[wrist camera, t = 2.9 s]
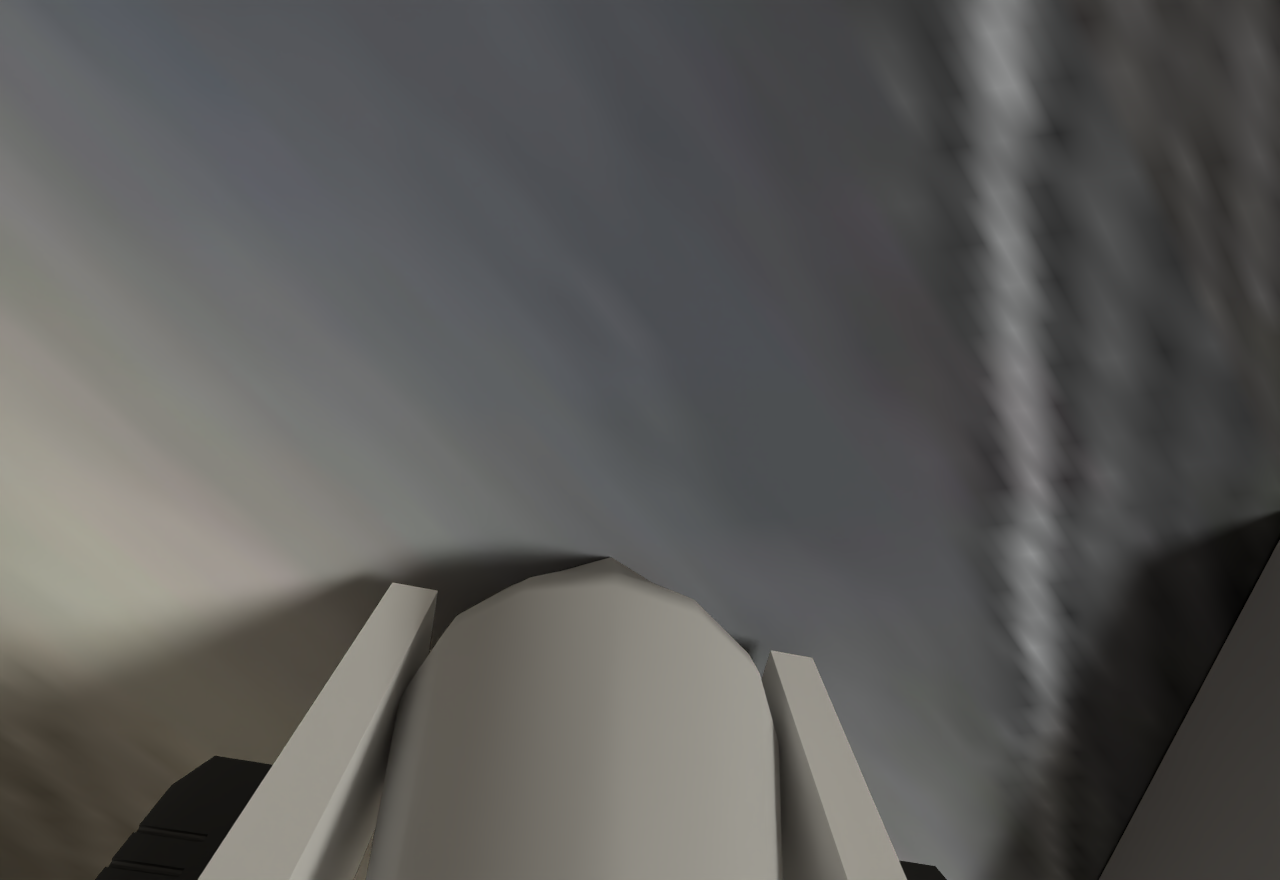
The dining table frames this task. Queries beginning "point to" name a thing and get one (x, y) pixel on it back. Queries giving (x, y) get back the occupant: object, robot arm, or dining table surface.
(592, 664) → the salt shaker
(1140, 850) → the button housing
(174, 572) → the dining table surface
